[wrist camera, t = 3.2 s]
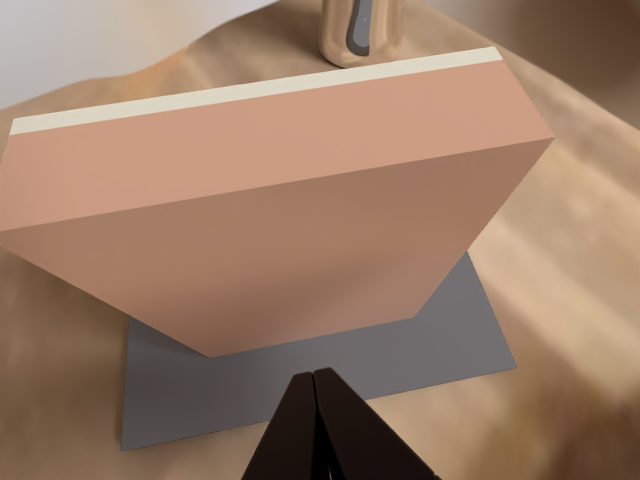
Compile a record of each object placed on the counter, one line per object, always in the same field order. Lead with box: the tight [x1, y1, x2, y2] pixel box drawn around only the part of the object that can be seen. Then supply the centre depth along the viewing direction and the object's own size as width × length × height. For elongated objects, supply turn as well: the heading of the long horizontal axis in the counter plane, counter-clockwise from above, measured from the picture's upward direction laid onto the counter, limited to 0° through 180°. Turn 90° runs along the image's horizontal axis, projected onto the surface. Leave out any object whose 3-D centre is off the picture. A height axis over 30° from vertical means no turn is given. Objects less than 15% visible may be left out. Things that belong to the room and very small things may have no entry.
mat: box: [121, 250, 517, 451], centre depth 18 cm, size 16×16×1 cm
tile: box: [0, 47, 555, 358], centre depth 11 cm, size 2×9×11 cm, turn 101°
